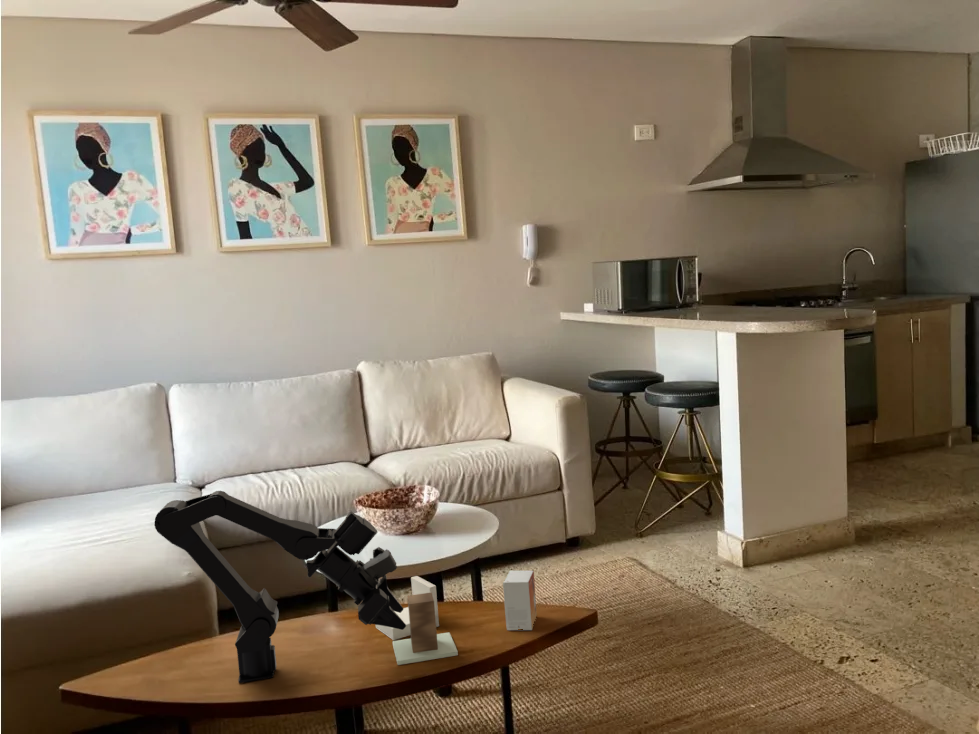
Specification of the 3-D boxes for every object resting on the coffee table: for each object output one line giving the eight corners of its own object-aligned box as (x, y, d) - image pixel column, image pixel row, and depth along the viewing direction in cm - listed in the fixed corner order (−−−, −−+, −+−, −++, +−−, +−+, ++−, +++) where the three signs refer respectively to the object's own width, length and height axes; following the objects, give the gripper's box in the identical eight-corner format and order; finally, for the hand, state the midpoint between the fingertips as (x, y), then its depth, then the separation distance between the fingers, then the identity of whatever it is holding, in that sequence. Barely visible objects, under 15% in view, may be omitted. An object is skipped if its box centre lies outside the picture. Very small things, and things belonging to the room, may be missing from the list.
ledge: (393, 640, 168) (389, 598, 168) (375, 627, 176) (372, 587, 175) (439, 626, 174) (435, 585, 173) (420, 614, 182) (416, 575, 181)
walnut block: (412, 652, 159) (408, 604, 159) (411, 643, 164) (407, 595, 163) (437, 649, 160) (434, 600, 159) (435, 639, 165) (431, 592, 164)
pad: (397, 665, 156) (397, 661, 156) (392, 645, 166) (392, 641, 166) (457, 655, 159) (457, 651, 159) (449, 635, 168) (449, 632, 168)
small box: (532, 631, 168) (528, 582, 167) (506, 630, 169) (502, 582, 168) (537, 616, 176) (534, 569, 175) (512, 616, 177) (509, 569, 176)
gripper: (371, 553, 150) (434, 604, 152) (370, 528, 168) (425, 573, 171) (332, 599, 149) (395, 649, 152) (334, 569, 168) (391, 614, 170)
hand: (403, 618), depth 161 cm, fingers open, 9 cm apart
